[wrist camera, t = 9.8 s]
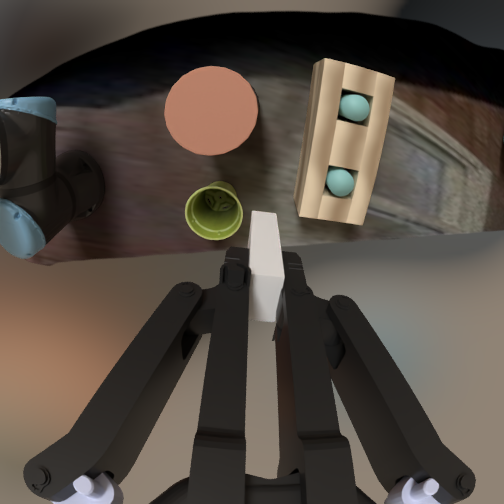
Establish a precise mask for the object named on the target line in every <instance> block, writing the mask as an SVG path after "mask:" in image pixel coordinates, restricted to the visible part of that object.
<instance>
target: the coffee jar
mask: <svg viewBox="0 0 504 504" xmlns="http://www.w3.org/2000/svg"><path fill="white" fill-rule="evenodd" d="M258 111H259V100H258V96H257V94H256V92H255V90H254V88H253V87H252V86H251V85H250V84H249V83H248V82H247V81H246V80H245V79H244V78H243V77H242V76H241V75H240V74H238V73H236V72H234V71H232V70H230V69H227V68H224V67H215V66H208V67H203V68H198V69H195V70H193V71H191V72H189V73H187V74H186V75H184V76H182V77H181V78H180V79H179V80H178V81H177V82H176V84H175V85H174V86H173V87H172V89H171V91H170V93H169V95H168V97H167V99H166V105H165V113H164V114H165V119H166V124H167V128H168V129H169V131H170V133H171V135H172V137H173V138H174V139H175V140H176V141H177V142H178V143H179V144H180V145H181V146H182V147H183V148H185V149H187V150H189V151H191V152H194V153H196V154H202V155H209V156H212V155H218V154H225V153H227V152H229V151H231V150H233V149H235V148H237V147H239V146H240V145H241V144H242V143H243V142H244V141H245V140H246V139H247V138H248V137H249V136H250V134H251V132H252V130H253V129H254V127H255V125H256V121H257V116H258Z"/></svg>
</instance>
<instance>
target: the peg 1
mask: <svg viewBox="0 0 504 504" xmlns="http://www.w3.org/2000/svg"><path fill="white" fill-rule="evenodd" d="M325 183H326V184H327V186H328V187H329V189H330V190H331V192H332V193H333V194H335V195H337V196H346V195H348V194H349V193H350V192H351V191H352V190H353V187H354V180H353V177H352V176H351V175H350V174H349V173H348V172H347V171H346V170H345V169H344V168H343V167H338V166H332V165H329V166H328V171H327V176H326V181H325Z"/></svg>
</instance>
